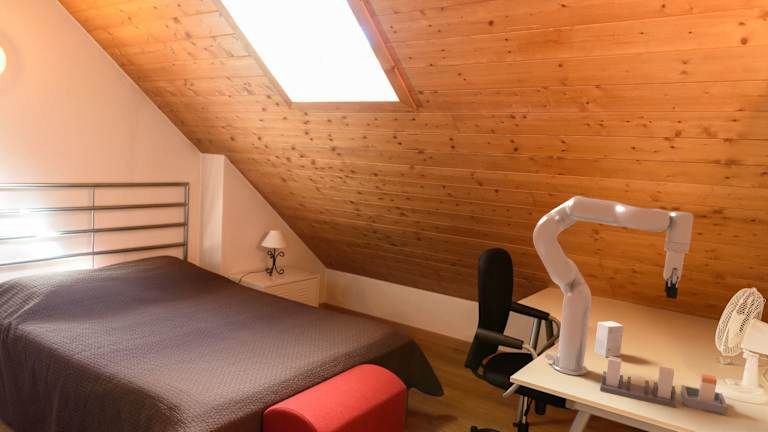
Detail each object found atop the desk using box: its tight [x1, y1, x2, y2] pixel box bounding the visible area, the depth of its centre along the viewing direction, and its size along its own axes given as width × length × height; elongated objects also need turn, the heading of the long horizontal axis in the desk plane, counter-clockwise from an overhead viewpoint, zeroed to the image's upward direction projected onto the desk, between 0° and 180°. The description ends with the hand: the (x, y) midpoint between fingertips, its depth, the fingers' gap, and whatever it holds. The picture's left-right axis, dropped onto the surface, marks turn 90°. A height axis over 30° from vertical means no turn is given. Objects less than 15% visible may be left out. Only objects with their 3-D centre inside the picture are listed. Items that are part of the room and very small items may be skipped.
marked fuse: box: [698, 373, 718, 403], centre depth 180 cm, size 4×4×9 cm
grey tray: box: [680, 384, 728, 416], centre depth 180 cm, size 12×12×3 cm
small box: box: [594, 320, 624, 358], centre depth 223 cm, size 8×6×13 cm
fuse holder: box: [599, 356, 677, 408], centre depth 184 cm, size 23×10×10 cm, turn 65°
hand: (670, 295), depth 190 cm, fingers open, 9 cm apart
